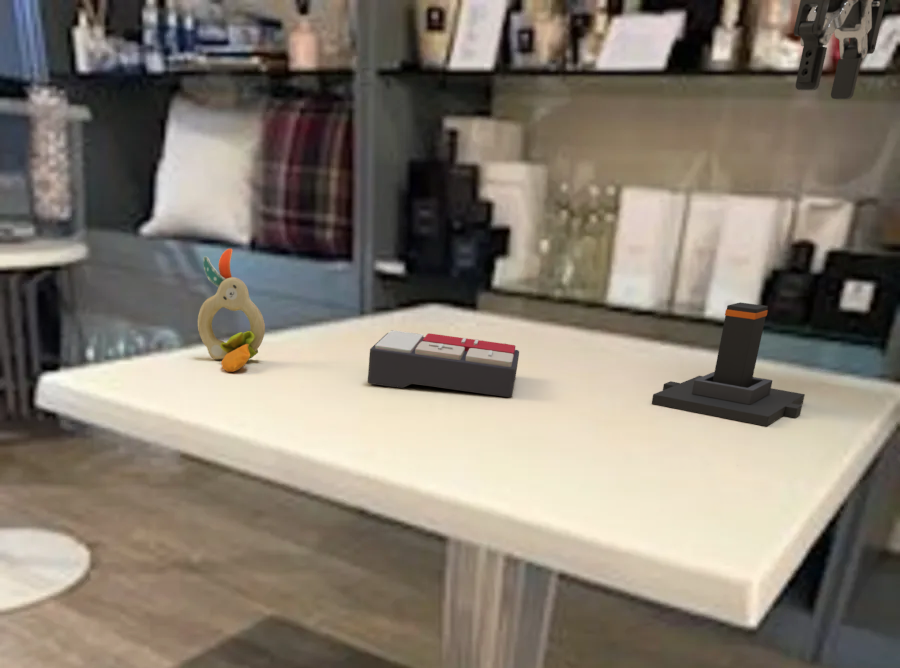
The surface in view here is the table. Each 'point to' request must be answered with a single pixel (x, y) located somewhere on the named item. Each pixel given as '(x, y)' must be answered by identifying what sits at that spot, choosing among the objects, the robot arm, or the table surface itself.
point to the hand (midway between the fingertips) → (824, 94)
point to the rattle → (232, 298)
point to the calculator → (443, 363)
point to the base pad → (731, 399)
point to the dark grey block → (740, 344)
